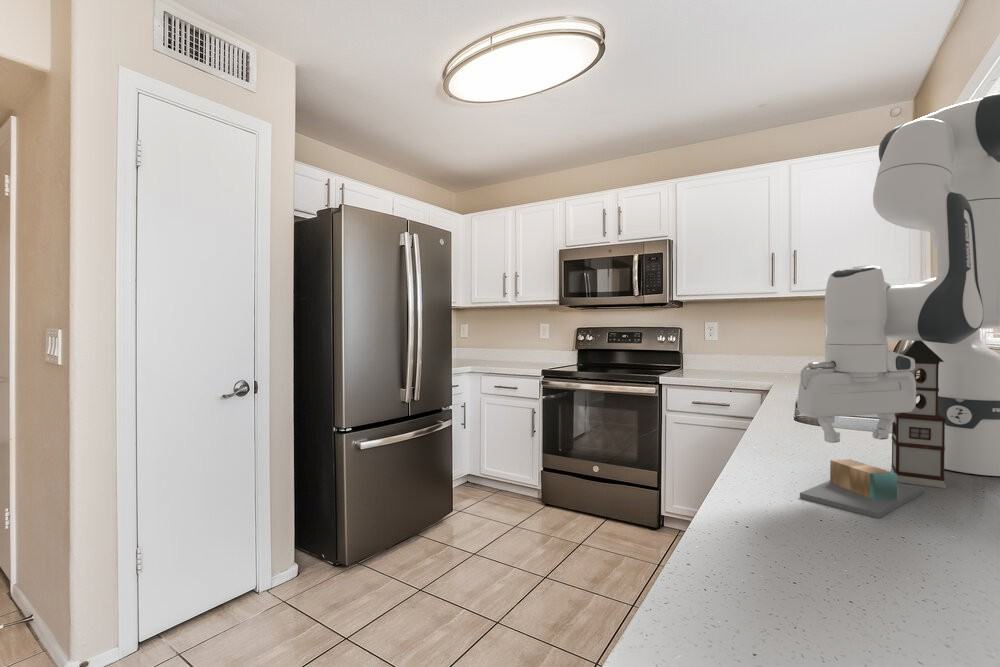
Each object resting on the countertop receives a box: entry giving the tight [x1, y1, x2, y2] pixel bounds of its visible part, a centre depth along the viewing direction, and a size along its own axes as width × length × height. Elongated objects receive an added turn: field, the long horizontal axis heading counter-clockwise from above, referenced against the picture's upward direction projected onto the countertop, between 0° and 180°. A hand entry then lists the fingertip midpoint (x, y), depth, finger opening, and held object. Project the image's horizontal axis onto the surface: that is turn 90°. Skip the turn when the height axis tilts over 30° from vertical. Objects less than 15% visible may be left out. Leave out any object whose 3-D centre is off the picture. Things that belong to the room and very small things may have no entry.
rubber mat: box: [799, 480, 924, 519], centre depth 85 cm, size 20×11×1 cm, turn 125°
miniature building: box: [889, 341, 947, 489], centre depth 93 cm, size 7×7×30 cm
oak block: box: [829, 458, 898, 500], centre depth 85 cm, size 4×4×9 cm
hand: (856, 440), depth 86 cm, fingers open, 8 cm apart
